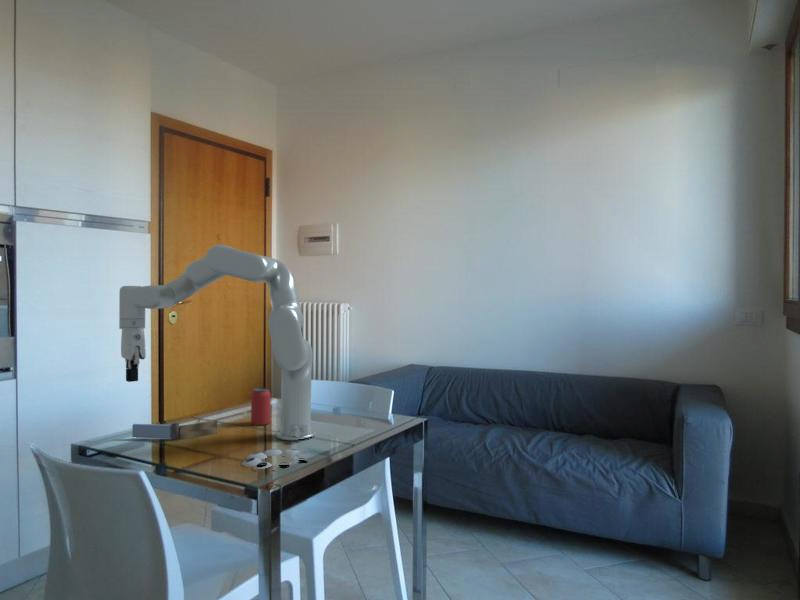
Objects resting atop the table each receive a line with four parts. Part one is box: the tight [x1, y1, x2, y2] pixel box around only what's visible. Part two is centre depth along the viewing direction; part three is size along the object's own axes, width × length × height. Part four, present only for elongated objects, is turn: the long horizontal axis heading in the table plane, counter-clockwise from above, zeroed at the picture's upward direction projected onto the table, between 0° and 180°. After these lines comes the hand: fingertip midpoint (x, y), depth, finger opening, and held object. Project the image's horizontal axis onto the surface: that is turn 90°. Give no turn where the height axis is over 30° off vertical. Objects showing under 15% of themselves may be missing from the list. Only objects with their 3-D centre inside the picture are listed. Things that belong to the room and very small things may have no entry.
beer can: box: [250, 387, 272, 426], centre depth 197 cm, size 7×7×12 cm
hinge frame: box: [171, 420, 218, 441], centre depth 178 cm, size 14×2×5 cm, turn 132°
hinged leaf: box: [131, 423, 172, 439], centre depth 174 cm, size 12×1×4 cm, turn 87°
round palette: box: [241, 448, 307, 469], centre depth 153 cm, size 20×20×2 cm
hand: (132, 380), depth 180 cm, fingers closed
